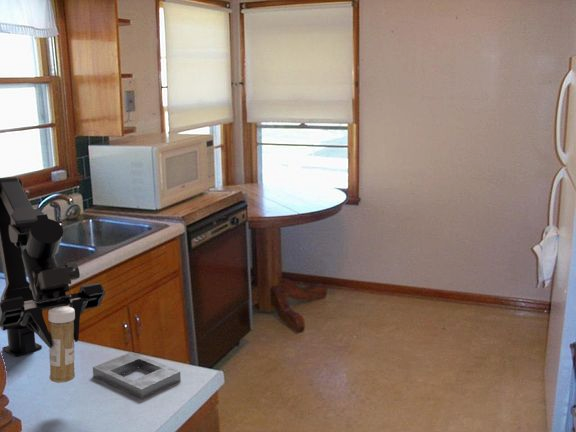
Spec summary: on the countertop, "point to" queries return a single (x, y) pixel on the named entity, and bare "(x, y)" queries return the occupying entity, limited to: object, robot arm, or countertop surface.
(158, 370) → the gray rectangular frame
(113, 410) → the countertop surface
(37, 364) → the countertop surface
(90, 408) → the countertop surface
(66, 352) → the sprinkles bottle
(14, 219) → the robot arm
